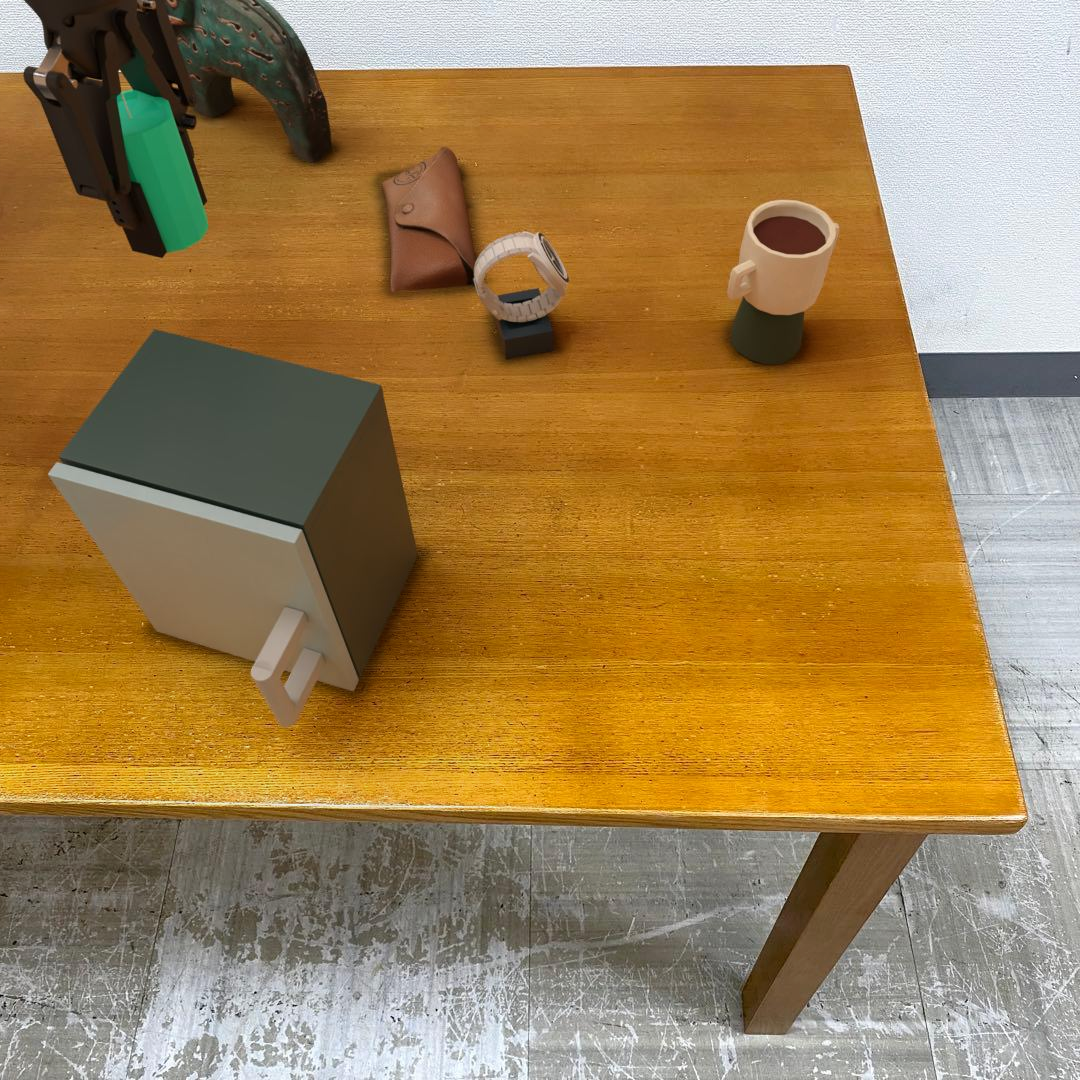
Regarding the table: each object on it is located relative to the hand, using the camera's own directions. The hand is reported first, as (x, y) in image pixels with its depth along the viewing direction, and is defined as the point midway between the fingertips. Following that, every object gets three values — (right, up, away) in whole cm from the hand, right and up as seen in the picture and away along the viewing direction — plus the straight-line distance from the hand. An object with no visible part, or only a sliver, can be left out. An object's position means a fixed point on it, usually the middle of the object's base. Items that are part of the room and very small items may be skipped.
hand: (170, 225), depth 83 cm
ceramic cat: (0, +19, +27) cm, 33 cm away
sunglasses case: (+19, +4, +18) cm, 26 cm away
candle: (0, 0, 0) cm, 0 cm away
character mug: (+50, -8, +9) cm, 52 cm away
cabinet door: (+9, -36, -10) cm, 39 cm away
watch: (+29, -7, +9) cm, 31 cm away
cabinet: (+11, -30, -5) cm, 32 cm away
